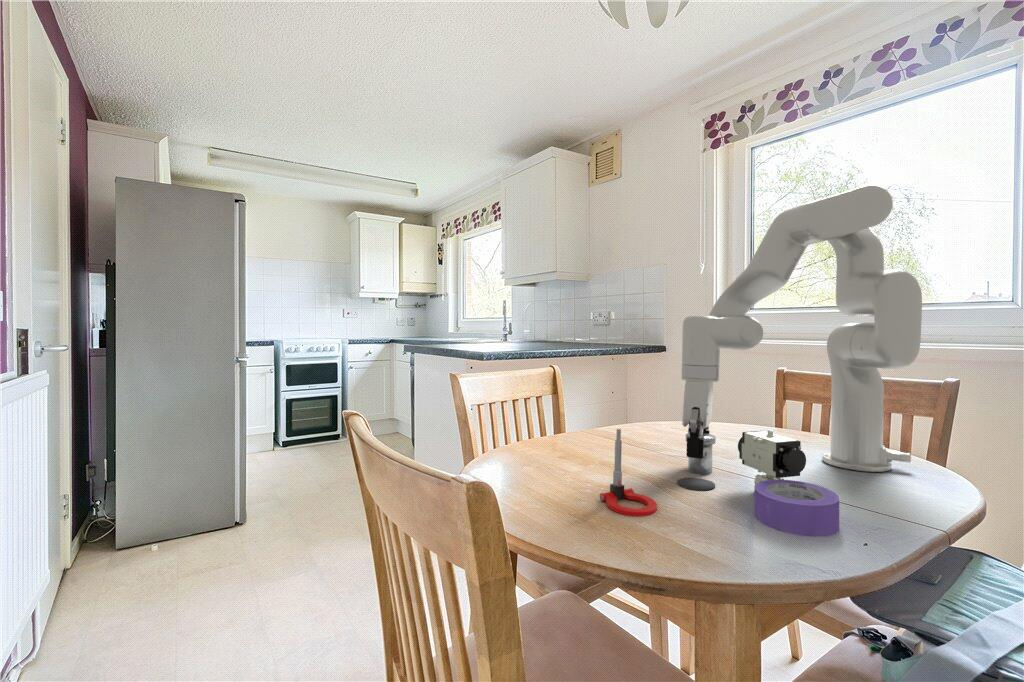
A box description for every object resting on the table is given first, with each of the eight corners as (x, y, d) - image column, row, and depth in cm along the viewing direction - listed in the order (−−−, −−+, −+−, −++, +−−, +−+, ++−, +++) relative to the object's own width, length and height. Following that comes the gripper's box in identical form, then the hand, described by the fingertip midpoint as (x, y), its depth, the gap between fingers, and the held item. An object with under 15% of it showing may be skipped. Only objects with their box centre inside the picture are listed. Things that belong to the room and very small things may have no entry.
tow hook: (667, 514, 81) (633, 494, 90) (670, 439, 80) (635, 426, 89) (626, 522, 78) (594, 501, 86) (628, 444, 77) (596, 430, 85)
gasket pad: (717, 482, 96) (717, 480, 96) (713, 492, 90) (713, 491, 90) (680, 477, 99) (680, 475, 99) (674, 487, 93) (674, 485, 93)
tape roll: (796, 542, 70) (797, 508, 70) (737, 512, 81) (738, 483, 81) (858, 532, 73) (858, 499, 73) (793, 504, 84) (793, 476, 84)
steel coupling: (716, 469, 105) (717, 434, 105) (713, 476, 100) (713, 440, 99) (687, 465, 108) (688, 431, 107) (683, 472, 102) (683, 437, 102)
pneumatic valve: (756, 483, 95) (757, 423, 95) (806, 505, 84) (807, 436, 83) (732, 486, 94) (733, 425, 93) (780, 508, 82) (781, 438, 82)
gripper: (688, 369, 112) (686, 442, 113) (674, 375, 97) (672, 459, 98) (723, 371, 109) (721, 446, 109) (714, 377, 94) (712, 464, 94)
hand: (698, 452), depth 103 cm, fingers open, 9 cm apart
